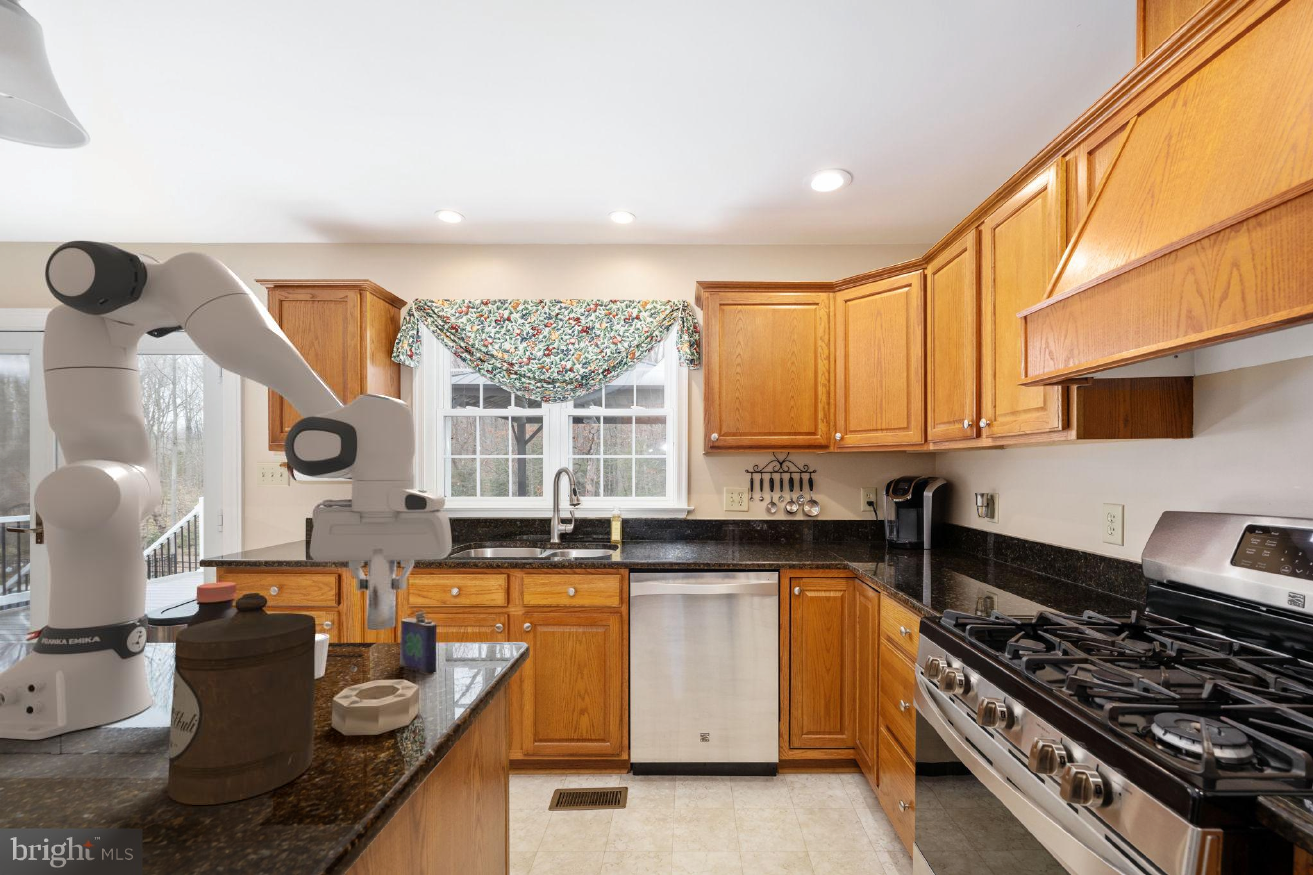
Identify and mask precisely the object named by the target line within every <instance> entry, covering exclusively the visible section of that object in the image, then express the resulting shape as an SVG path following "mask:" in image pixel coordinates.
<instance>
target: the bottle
mask: <svg viewBox="0 0 1313 875" xmlns="http://www.w3.org/2000/svg"><path fill="white" fill-rule="evenodd" d="M195 597H196V598H195V600H196V605H197V606H198V610H197V611H196V612H195V613H194V614H193V615H192V616H191V617H190V618H189V619H188V621H187V623H186V625H187V626H186V628H187V627H190V626H193V625H196V624H200V623H204V622H208V621H213V620H218V619H224V618H230V617H233V616H234V614H235V613H236V612H237V611H238V610H237V609H236V607H235V606H234V602H236V597H237V582H232V581H226V582H225V581H221V582H220V581H219V582H211V583H204V584H203V583H202V584H200V585H198V586H196V596H195Z"/></svg>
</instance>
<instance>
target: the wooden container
mask: <svg viewBox="0 0 1313 875" xmlns="http://www.w3.org/2000/svg"><path fill="white" fill-rule="evenodd" d="M267 605H268V598H267V597H266V596H264V595H263V594H262V595H261V594H260V593H259V592H250V593H245V594H243V595H242V596H241V597H238V598H237V599H235V609H236V610H237V612H236V613H235V614H234V616H233V617H230V618H224V619H218V620H213V621H208V622H204V623H200V624H196V625H193V626H190V627H187V626H186V627H185V628H183V629H181V630H180V631H178V632H177V634H176V636H175V646H174V659H175V660H174V662H175V664H174V674H173V685H172V686H173V687H172V688H173V689H172V704H171V711H170V712H171V713H170V727H169V729H170V730H169V750H168V751H169V753H168V754H169V755H168V761H169V762H168V782H167V792H168V796H169V797H170V799H172V800H173V801H175V802H178V803H180V804H184V805H192V806H193V805H194V806H210V805H218V804H220V805H222V804H226V803H232V802H237V801H242V800H246V799H250V798H253V797H256V796H260V795H263V794H266V793H268V792H270V791H273V790H275V789H278V788H280V787H282V786H284V785H287V784H288V783H290V782H292V781H294V780H295V779H297V778H298V777H300V776H301V775H302V774H304V773H305V771H307V770H308V769H309V768H310V766H311V765H312V762H313V759H314V741H315V740H314V731H315V703H316V702H315V701H316V699H315V698H316V692H315V691H316V690H315V689H316V688H315V684H316V682H315V680H316V679H315V635H316V633H317V629H316V618H315V617H314V616H313V615H309V614H304V613H294V612H293V613H292V612H291V613H290V612H289V613H287V612H285V613H284V612H277V613H275V612H270V613H268V612H267V611H266V610H265V609H264V608H265V607H266V606H267Z"/></svg>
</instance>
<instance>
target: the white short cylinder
mask: <svg viewBox="0 0 1313 875" xmlns="http://www.w3.org/2000/svg"><path fill="white" fill-rule="evenodd" d="M329 642H330V635H329V633H325V632H324V633H323V632H321V633H320V632H316V635H315V680H316V679H320V678H322V677H323V676H325V672H326V664H327V657H328V650H329V649H328V648H329Z"/></svg>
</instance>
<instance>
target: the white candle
mask: <svg viewBox="0 0 1313 875" xmlns="http://www.w3.org/2000/svg"><path fill="white" fill-rule="evenodd" d="M367 577H368V582H367V590H366V591H367V592H366V630H369V631H370V630H371V631H381V630H388V629H392V628H394V627H396V613H397V612H396V609H397V607H396V603H397V602H396V601H397V600H396V599H397V598H396V597H397V596H396V595H397V591H396V590H393V585H394V584H393V578H396V577H397V560H385V559H384V557H383V549H373V557H372V559H371V560H367Z"/></svg>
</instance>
